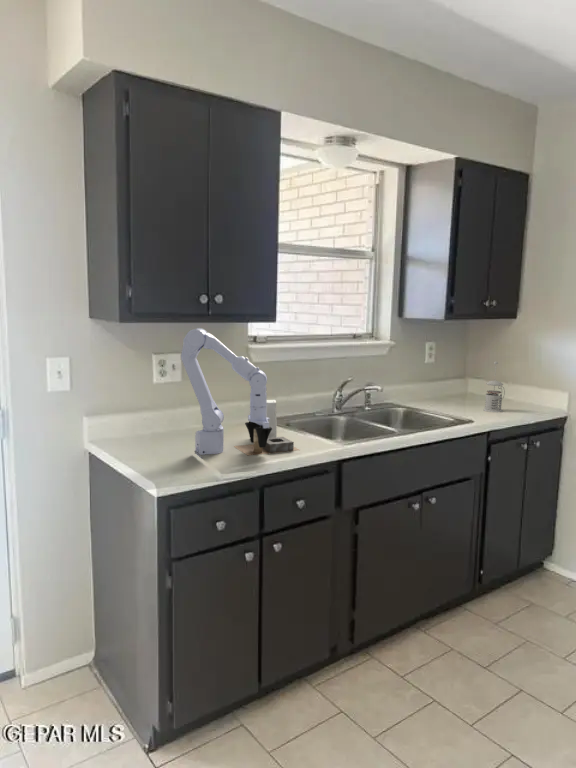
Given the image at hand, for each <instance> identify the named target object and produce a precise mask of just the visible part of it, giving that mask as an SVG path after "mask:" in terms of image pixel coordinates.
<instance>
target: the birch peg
mask: <svg viewBox="0 0 576 768" xmlns="http://www.w3.org/2000/svg"><path fill="white" fill-rule="evenodd" d="M253 444H254V453H262V448H260V447H259V443H258V436H257V432H256V430H255V429H254V443H253Z"/></svg>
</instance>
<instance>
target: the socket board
mask: <svg viewBox="0 0 576 768" xmlns="http://www.w3.org/2000/svg"><path fill="white" fill-rule="evenodd" d="M233 447H234V448H235V449H237V450H238V451H240V452H241V453H244V455H246V456H259V455H267V454H268V455H269V454H276V453H278V454H279V453H286V452H288V453H289V452H296V451H300V449H299V448H298V447H295V446H294V441H292V440H290V439H288V438H286V437H284V436H277V437H274V438H268V439H267V443H266V447H262V453H254V443H253V444H252V443H251V444H243V445H233Z"/></svg>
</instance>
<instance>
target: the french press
mask: <svg viewBox="0 0 576 768" xmlns="http://www.w3.org/2000/svg"><path fill="white" fill-rule="evenodd" d="M493 364H494V365H498V364H499V362H498V361H494V362H493ZM496 370H497V366H495V369H494V371H495V372H494V375H496V373H497V371H496ZM486 385H488V386H493V390H487V391H486V393H485V403H484V405H485V406H484V408H483V409H482V411H485V412H489V413H503V412H504V410H503V409H502V402H503V399H504V398H505V395H506V391H505V388H504V387H503V385H504V383H502V382H501V381H499V380H496V379H494V380H490V381H488V382H486ZM495 386H496V387H498V389H500V391H499V390H495V388H496V387H495ZM502 388H503V389H502Z"/></svg>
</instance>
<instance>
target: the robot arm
mask: <svg viewBox="0 0 576 768" xmlns="http://www.w3.org/2000/svg"><path fill="white" fill-rule="evenodd" d="M182 342H183V343H182V344H183V345H182V349H181V353H180V358H181V363H182V365H183V367H184V369H185V372H186V375H187V377H188V380H189V381H190V382H189V383H190V384H191V387H192V389H193V392H194V393H195V397H196V399H197V401H198V402H197V403H198V405H199V407H200V414H201V418H202V419H201V425H202V429H201V430H196V432H195V435H194V439H195V443H194V444H195V445H194V446H195V447H194V448H195V451H194V454H196V455H197V456H198V457H199V458H200V459H203V457H202V455H215V454H221V453H224V437H225V436H224V426H223V425H222V423H223V421H224V418H225V416H224V415H225V414H224V413H223V411H222V410H221V409H220V408H219V407H218V405H217V403H216V402H215V399H214V398H213V396H212V392H211V391H210V388H209V386H208V383H207V381H206V378H205V376H204V373H203V370H202V368H201V366H200V362H199V361H198V359H197V358H198V356H199V354H200V351H201V349H202V348H203V349H207V350H213V351H214V352H215V353H217V354H218V355H220V357H222V359H223V358H224V360H226V362H227V361H228V363H230V364H231V370H233V371H234V372H235V373H236V374H237V375H239V376H240V377H241V378H243V379H244V380H245V382H246V381H247V382H248V383H249V386H250V393H249V414H248V415H247V421H248V422H245V423H244V425H245V426H246V427H245V428H247V431H248V436H249V440H250V442H251V444H252V443H253V444H254V429H255V430H256V432H257V436H258V443H259V447H260V448H262V447H266V443H267V439H268V436H269V434H270V432H271V430H272V428H271V427H269V422H268V420H270V418H268V417H267V400H268V399H267V398H268V396H267V395H268V393H267V384H268V377H267V374H266V373H265V371H264V370H262V369H260V367H259V366H257V367H256V366H255V365H254V364H253V363H252V362H251V361H250V358H248V357H247V356H246V357H244V356H243V355H240V356H239V355H238V356H237V355H236V354H235V353H234V352H233V350H230V349H229V348H228V347H227V346H226V345H225V344H224V343H223V342H221V341H220V340H219V339H218V338H216V337H215V335H213V334H212V333H210V332H208V331H207V330H206V329H204V328H203V327H197V328H193V329H191V330H189V331H188V332H187V333H186V335H185V336H184V338H183V339H182Z"/></svg>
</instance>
